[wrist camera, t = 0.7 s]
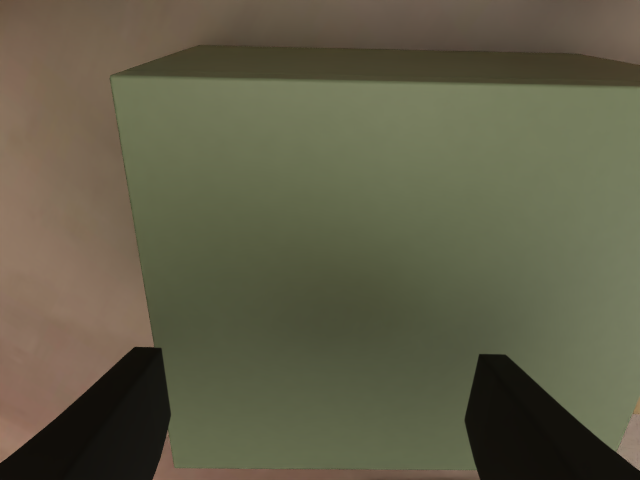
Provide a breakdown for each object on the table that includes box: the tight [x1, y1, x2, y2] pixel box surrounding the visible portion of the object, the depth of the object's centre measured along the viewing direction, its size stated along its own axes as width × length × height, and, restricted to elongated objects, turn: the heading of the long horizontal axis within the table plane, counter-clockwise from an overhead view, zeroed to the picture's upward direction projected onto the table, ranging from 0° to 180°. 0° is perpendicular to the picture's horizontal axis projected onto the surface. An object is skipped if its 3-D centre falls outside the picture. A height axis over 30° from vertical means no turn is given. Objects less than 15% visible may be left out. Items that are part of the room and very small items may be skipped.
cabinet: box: [110, 45, 640, 470], centre depth 16 cm, size 14×12×8 cm
